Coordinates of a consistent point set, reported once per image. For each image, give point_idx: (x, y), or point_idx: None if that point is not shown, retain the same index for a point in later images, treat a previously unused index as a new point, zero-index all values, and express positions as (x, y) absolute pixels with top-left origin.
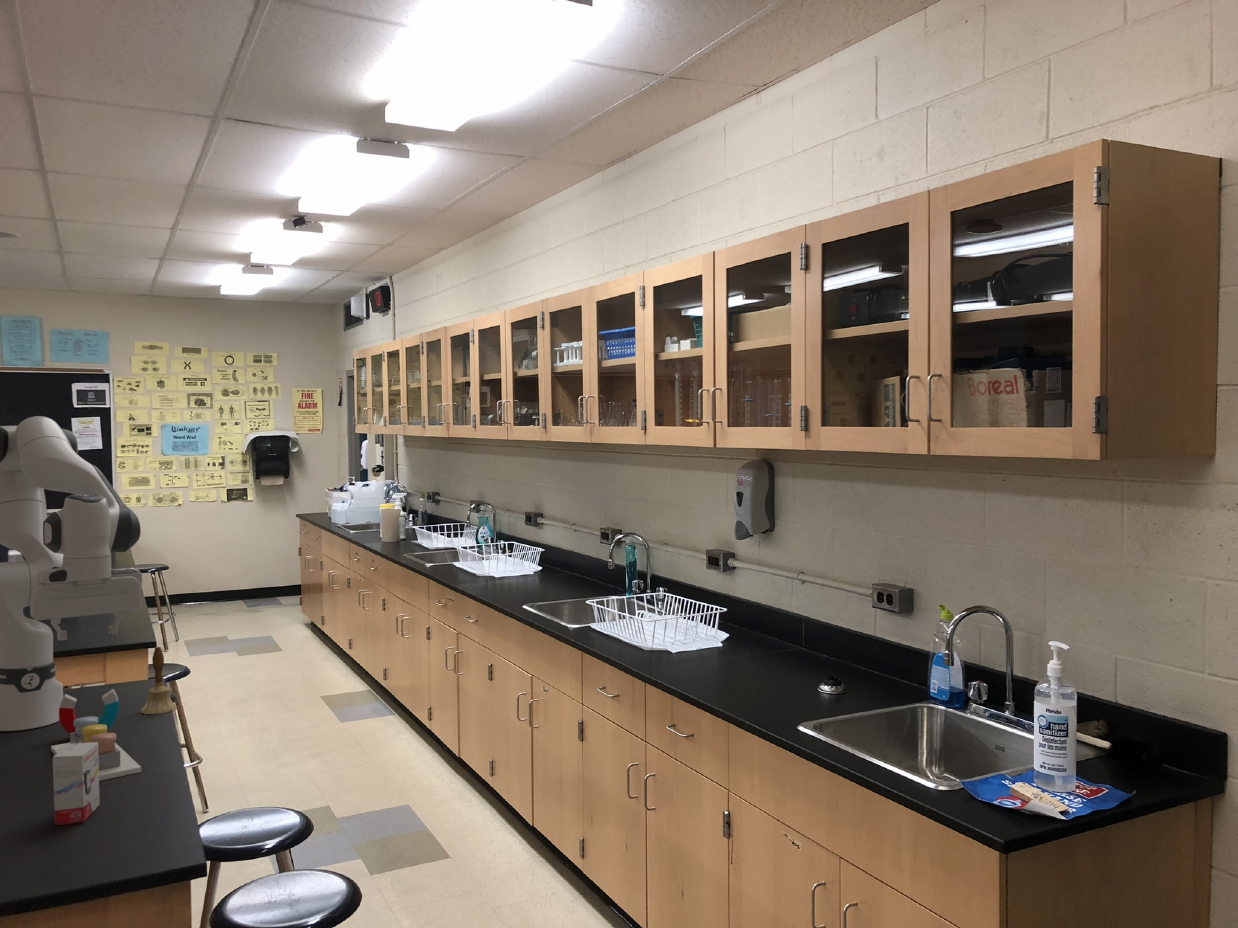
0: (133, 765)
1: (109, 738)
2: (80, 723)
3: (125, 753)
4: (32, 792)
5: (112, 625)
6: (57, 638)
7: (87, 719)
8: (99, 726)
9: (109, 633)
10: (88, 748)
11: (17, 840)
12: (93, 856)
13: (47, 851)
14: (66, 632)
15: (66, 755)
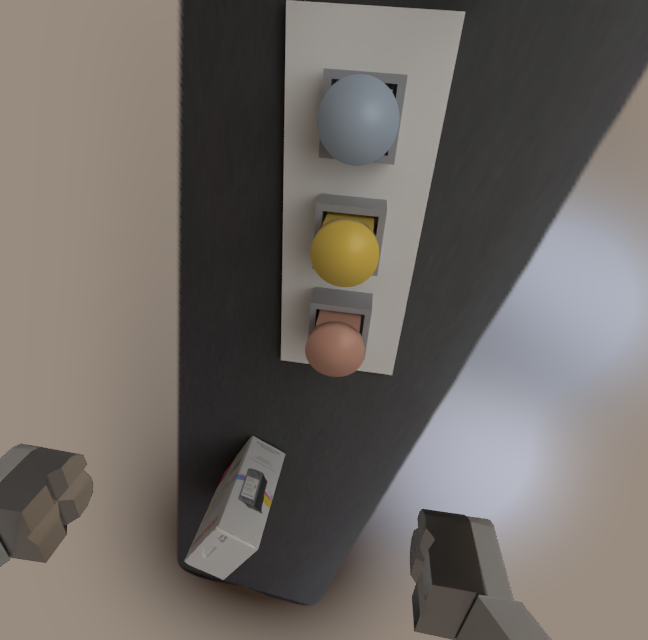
0: (385, 356)
1: (339, 376)
2: (331, 153)
3: (411, 263)
4: (211, 333)
5: (457, 608)
6: (17, 448)
7: (361, 127)
8: (359, 255)
9: (419, 522)
10: (237, 564)
11: (184, 477)
12: None
13: None
14: (50, 550)
15: (202, 568)
